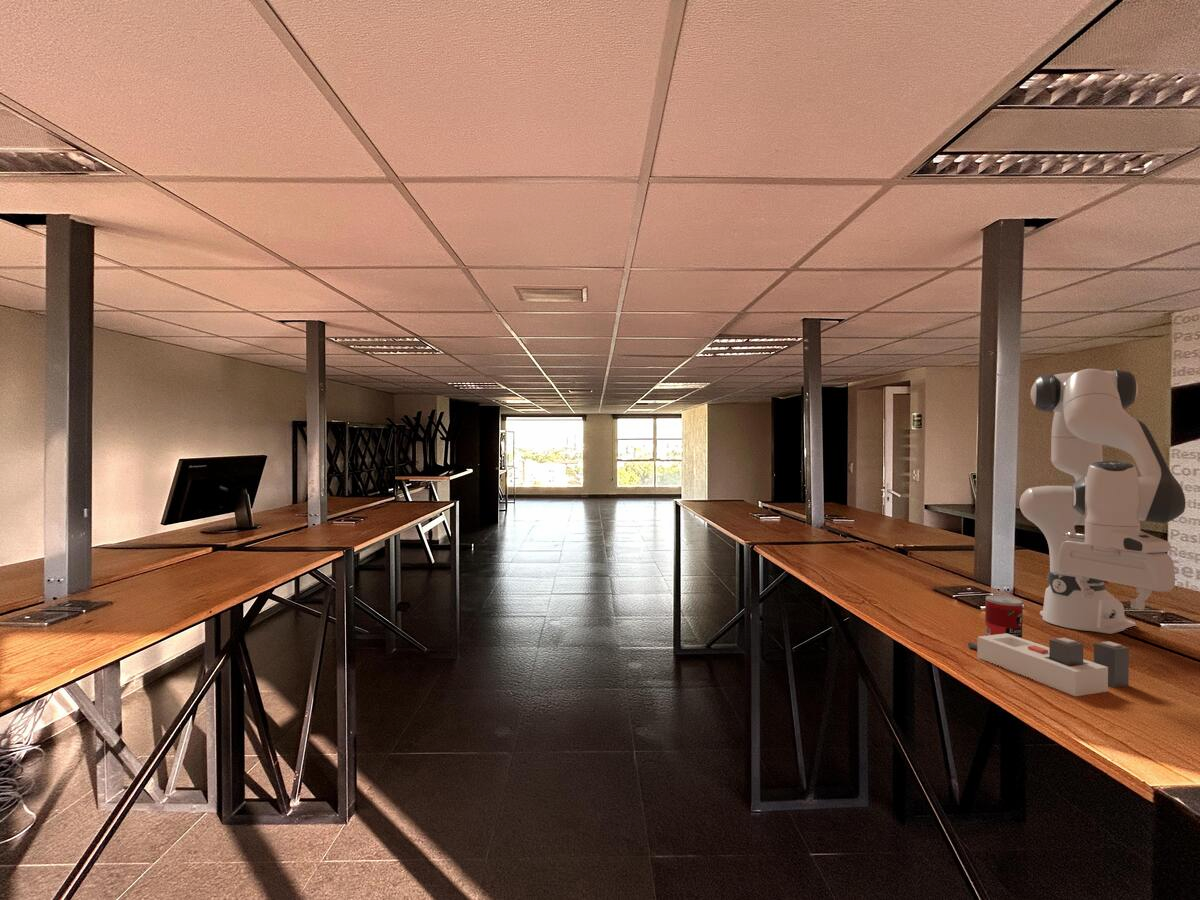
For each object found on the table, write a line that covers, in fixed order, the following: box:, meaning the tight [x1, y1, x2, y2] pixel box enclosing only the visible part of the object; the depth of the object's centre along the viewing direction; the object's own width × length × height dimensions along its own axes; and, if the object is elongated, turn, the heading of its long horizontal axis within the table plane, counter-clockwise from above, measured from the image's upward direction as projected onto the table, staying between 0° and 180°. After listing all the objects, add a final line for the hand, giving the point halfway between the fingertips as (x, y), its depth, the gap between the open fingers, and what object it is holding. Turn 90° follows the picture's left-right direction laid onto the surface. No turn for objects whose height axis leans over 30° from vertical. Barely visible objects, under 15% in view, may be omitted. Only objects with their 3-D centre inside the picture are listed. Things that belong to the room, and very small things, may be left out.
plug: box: [1093, 640, 1130, 689], centre depth 123 cm, size 4×4×8 cm
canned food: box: [984, 594, 1024, 639], centre depth 148 cm, size 8×8×11 cm
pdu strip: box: [967, 633, 1109, 697], centre depth 131 cm, size 9×28×9 cm, turn 15°
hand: (1111, 602), depth 122 cm, fingers open, 8 cm apart
